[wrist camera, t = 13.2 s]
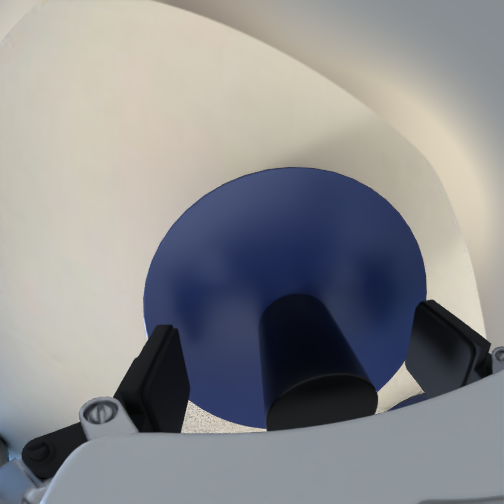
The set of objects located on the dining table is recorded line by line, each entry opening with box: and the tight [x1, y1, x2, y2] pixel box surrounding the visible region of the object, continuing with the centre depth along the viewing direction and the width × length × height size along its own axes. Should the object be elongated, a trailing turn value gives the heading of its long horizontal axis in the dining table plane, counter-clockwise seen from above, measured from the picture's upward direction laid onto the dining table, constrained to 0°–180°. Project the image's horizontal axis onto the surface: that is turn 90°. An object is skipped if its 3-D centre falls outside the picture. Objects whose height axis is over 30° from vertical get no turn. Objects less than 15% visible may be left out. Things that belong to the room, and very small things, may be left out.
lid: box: [143, 167, 427, 431], centre depth 10 cm, size 13×13×7 cm
